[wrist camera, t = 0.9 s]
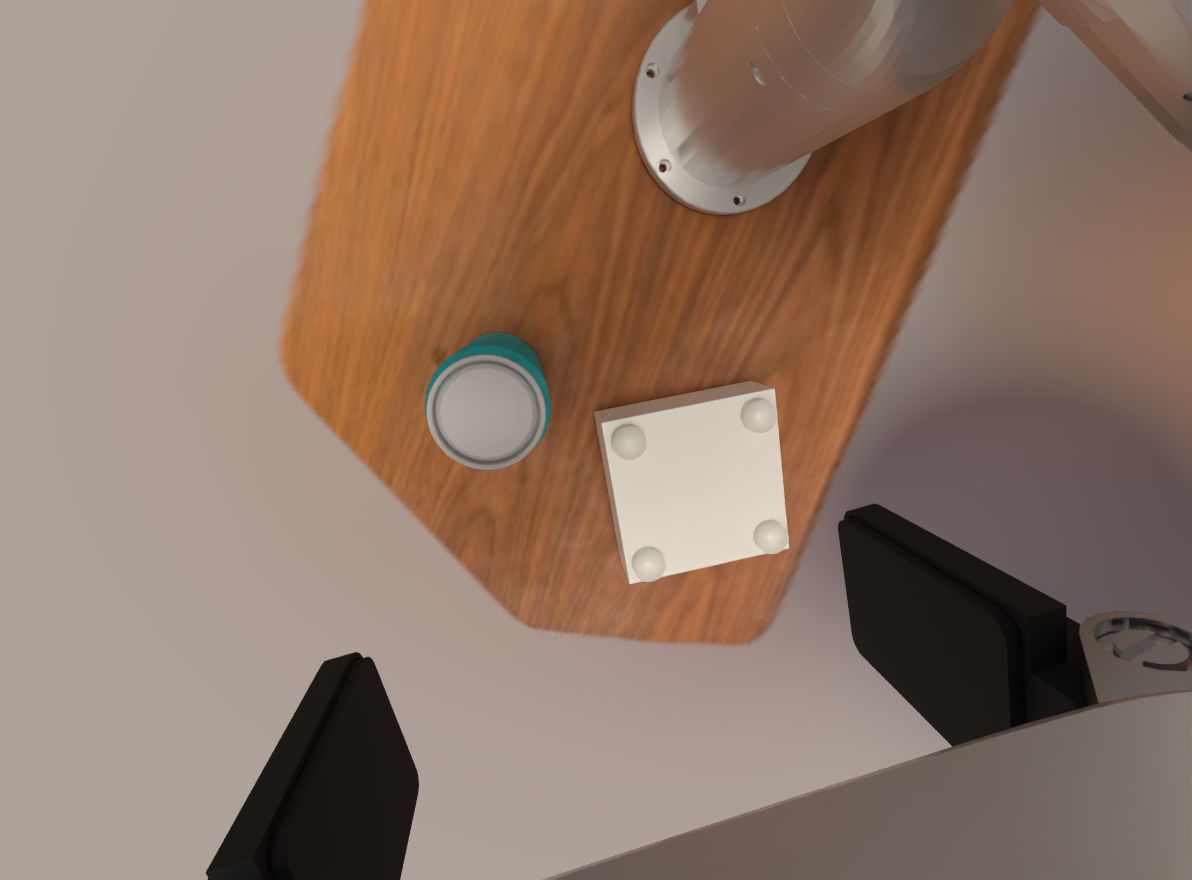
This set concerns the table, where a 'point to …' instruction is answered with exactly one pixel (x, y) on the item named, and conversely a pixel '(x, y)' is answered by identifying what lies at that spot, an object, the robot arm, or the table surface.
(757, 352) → the table surface
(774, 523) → the brick
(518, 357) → the beverage can
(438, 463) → the table surface
